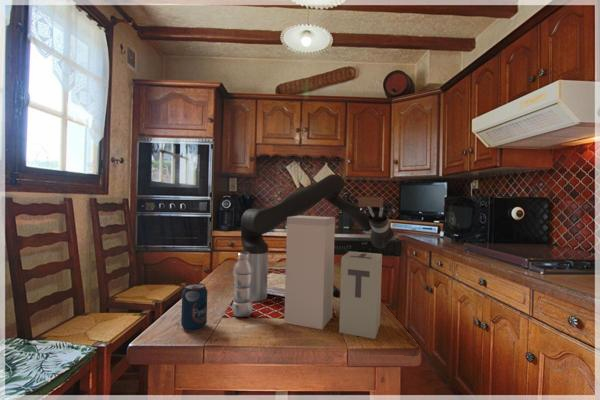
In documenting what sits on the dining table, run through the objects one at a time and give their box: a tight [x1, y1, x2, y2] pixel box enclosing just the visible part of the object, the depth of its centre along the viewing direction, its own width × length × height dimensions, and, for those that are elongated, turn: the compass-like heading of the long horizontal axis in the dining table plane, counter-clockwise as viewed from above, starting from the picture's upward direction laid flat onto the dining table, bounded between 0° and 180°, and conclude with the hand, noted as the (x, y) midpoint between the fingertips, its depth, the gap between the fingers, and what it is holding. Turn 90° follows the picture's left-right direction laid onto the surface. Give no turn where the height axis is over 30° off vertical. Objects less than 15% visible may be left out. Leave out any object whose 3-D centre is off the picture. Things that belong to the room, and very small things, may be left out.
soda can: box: [180, 282, 208, 333], centre depth 93 cm, size 7×7×12 cm
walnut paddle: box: [357, 196, 384, 208], centre depth 112 cm, size 18×7×3 cm, turn 159°
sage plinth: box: [338, 250, 383, 340], centre depth 95 cm, size 11×10×22 cm
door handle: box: [333, 284, 340, 297], centre depth 134 cm, size 3×20×16 cm
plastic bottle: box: [231, 251, 254, 318], centre depth 103 cm, size 6×7×20 cm
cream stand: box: [283, 215, 336, 330], centre depth 101 cm, size 11×12×32 cm
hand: (374, 198), depth 116 cm, fingers closed on walnut paddle, 3 cm apart
